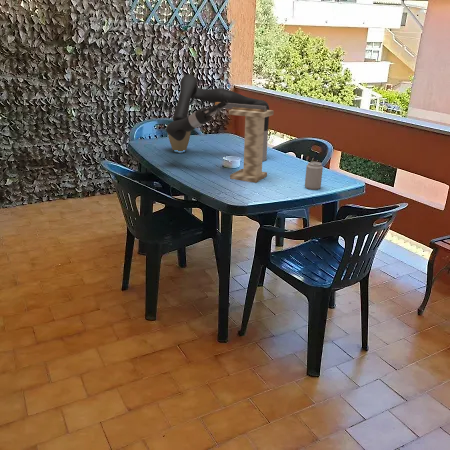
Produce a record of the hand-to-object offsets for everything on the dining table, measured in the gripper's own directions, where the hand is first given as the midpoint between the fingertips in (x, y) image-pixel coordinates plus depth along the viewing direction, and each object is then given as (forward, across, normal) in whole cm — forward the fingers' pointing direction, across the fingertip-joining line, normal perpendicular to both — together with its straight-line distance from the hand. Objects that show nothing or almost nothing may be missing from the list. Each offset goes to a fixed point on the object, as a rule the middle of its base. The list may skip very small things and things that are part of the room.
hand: (226, 102), depth 221 cm
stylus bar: (+5, 0, +6) cm, 8 cm away
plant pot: (-58, +30, +8) cm, 66 cm away
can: (+22, -1, +54) cm, 59 cm away
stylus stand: (-6, 0, +38) cm, 38 cm away
